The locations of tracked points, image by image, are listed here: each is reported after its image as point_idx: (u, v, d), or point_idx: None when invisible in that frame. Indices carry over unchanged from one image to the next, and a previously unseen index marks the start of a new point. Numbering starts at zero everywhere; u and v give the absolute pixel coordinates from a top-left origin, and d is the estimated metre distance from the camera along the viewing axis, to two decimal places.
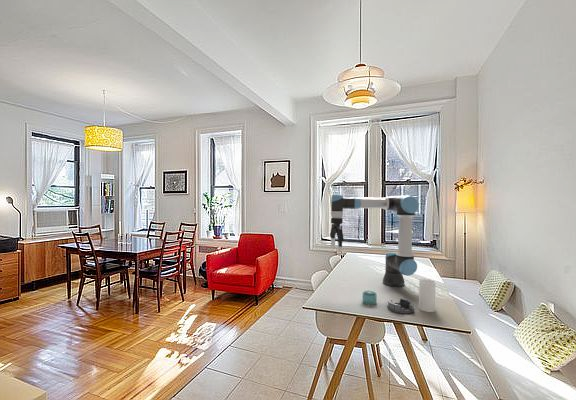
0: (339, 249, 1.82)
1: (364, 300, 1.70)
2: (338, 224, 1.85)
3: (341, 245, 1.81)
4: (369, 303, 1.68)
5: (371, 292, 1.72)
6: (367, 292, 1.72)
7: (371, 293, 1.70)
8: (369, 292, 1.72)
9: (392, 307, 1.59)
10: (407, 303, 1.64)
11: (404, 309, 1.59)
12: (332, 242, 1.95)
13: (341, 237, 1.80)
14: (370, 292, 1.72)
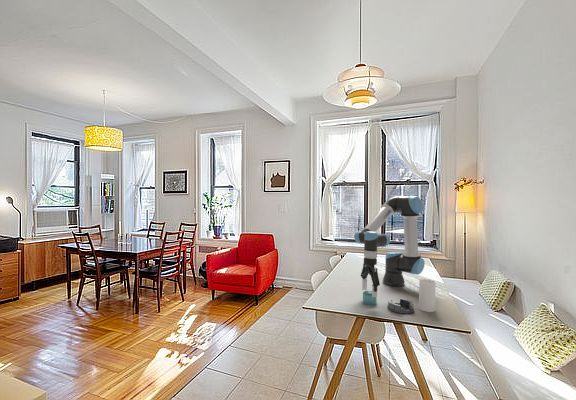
0: (374, 294, 1.64)
1: (364, 300, 1.70)
2: (372, 265, 1.68)
3: (376, 290, 1.63)
4: (369, 303, 1.68)
5: (371, 292, 1.72)
6: (367, 292, 1.71)
7: (371, 293, 1.70)
8: (369, 292, 1.72)
9: (392, 307, 1.59)
10: (407, 303, 1.64)
11: (404, 309, 1.59)
12: (363, 283, 1.77)
13: (377, 281, 1.62)
14: (370, 292, 1.72)
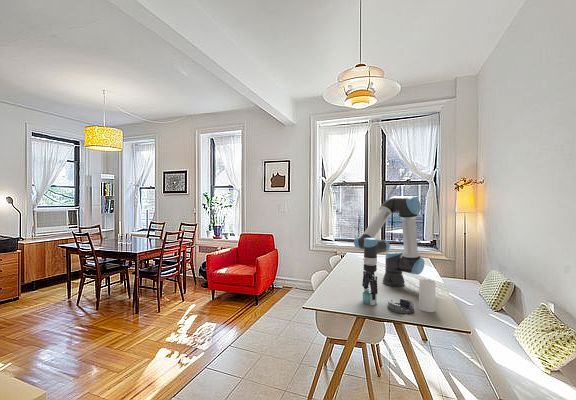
0: (372, 302, 1.67)
1: (364, 300, 1.69)
2: (372, 272, 1.68)
3: (374, 298, 1.66)
4: (369, 303, 1.68)
5: None
6: (367, 292, 1.72)
7: None
8: (369, 292, 1.72)
9: (392, 307, 1.59)
10: (407, 303, 1.64)
11: (404, 309, 1.59)
12: None
13: (375, 290, 1.64)
14: (370, 292, 1.72)
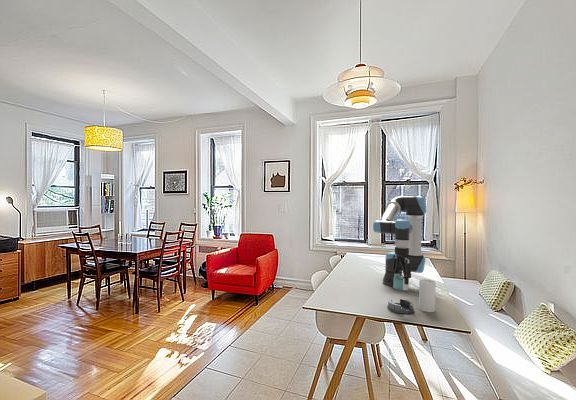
0: (405, 287, 1.57)
1: (396, 285, 1.60)
2: (405, 255, 1.58)
3: (407, 282, 1.56)
4: (402, 288, 1.58)
5: None
6: (399, 277, 1.62)
7: None
8: (401, 277, 1.62)
9: (392, 307, 1.59)
10: (407, 303, 1.64)
11: (404, 309, 1.59)
12: None
13: (408, 274, 1.54)
14: (402, 277, 1.62)
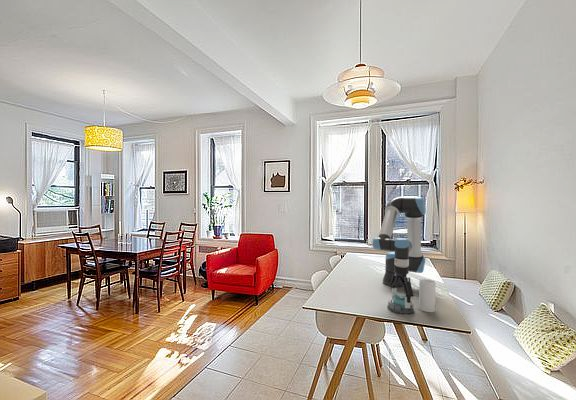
0: (407, 305, 1.55)
1: None
2: (404, 275, 1.58)
3: (410, 301, 1.54)
4: (401, 308, 1.58)
5: (402, 296, 1.62)
6: (398, 296, 1.62)
7: (403, 297, 1.60)
8: (400, 296, 1.62)
9: (392, 307, 1.59)
10: None
11: None
12: (393, 293, 1.68)
13: (410, 292, 1.52)
14: (401, 296, 1.62)
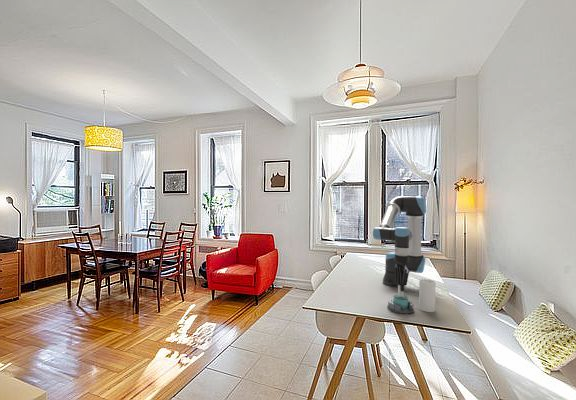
0: (400, 294, 1.61)
1: None
2: (405, 263, 1.58)
3: (403, 290, 1.60)
4: (402, 308, 1.58)
5: None
6: (398, 296, 1.62)
7: (403, 297, 1.60)
8: None
9: (392, 307, 1.59)
10: None
11: None
12: None
13: (405, 282, 1.58)
14: None
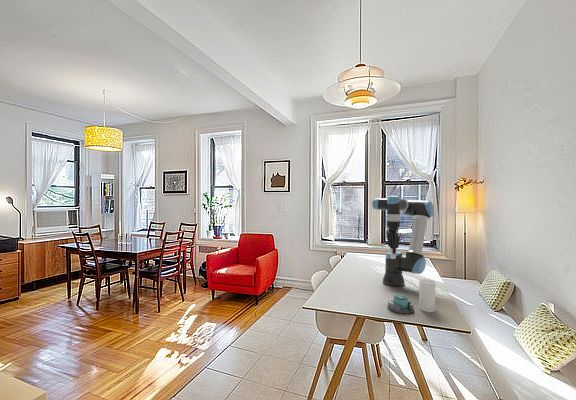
0: (393, 256, 1.78)
1: None
2: (396, 228, 1.74)
3: (395, 252, 1.77)
4: (402, 308, 1.58)
5: (402, 296, 1.62)
6: (398, 296, 1.62)
7: (403, 297, 1.60)
8: (400, 296, 1.62)
9: (392, 307, 1.59)
10: None
11: None
12: None
13: (396, 245, 1.74)
14: (401, 296, 1.62)
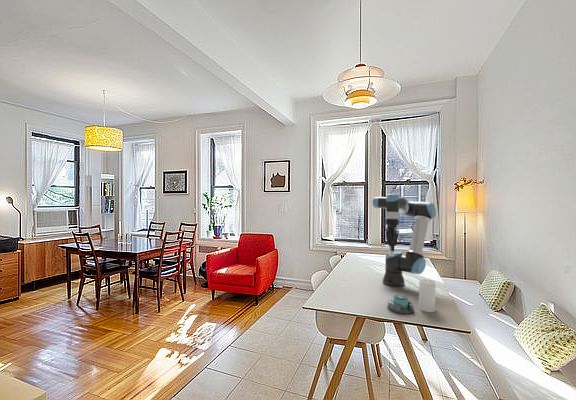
0: (391, 253, 1.79)
1: None
2: (395, 225, 1.76)
3: (393, 249, 1.78)
4: (402, 308, 1.58)
5: (402, 296, 1.62)
6: (398, 296, 1.62)
7: (403, 297, 1.60)
8: (400, 296, 1.62)
9: (392, 307, 1.59)
10: None
11: None
12: None
13: (395, 242, 1.76)
14: (401, 296, 1.62)
